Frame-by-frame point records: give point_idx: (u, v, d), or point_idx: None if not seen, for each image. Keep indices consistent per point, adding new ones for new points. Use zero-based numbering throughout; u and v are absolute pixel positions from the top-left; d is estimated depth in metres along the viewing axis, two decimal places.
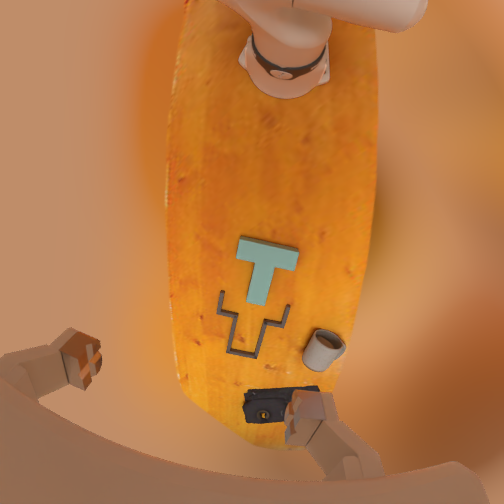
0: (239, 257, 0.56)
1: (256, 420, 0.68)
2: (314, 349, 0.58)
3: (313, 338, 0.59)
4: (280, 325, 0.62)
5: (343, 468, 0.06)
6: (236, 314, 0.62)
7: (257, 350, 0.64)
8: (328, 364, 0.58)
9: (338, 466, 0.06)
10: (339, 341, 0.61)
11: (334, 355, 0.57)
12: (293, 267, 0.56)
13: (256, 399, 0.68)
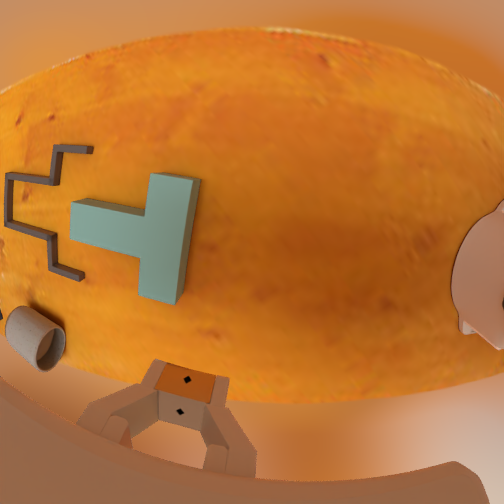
0: (152, 181, 0.23)
1: None
2: (28, 334, 0.26)
3: (43, 329, 0.27)
4: (50, 264, 0.28)
5: None
6: (55, 182, 0.25)
7: (13, 226, 0.27)
8: None
9: None
10: (55, 360, 0.31)
11: (31, 364, 0.26)
12: (144, 294, 0.26)
13: None
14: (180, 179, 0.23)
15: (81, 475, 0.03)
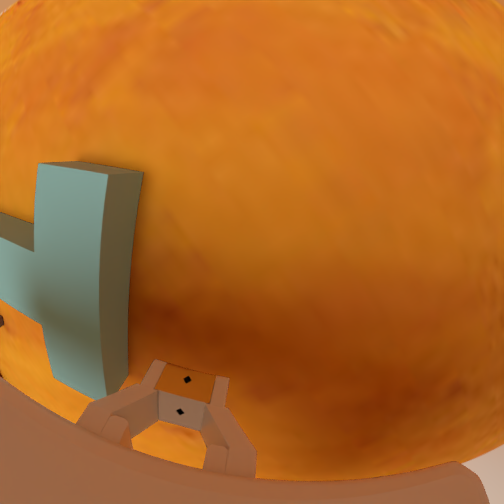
0: (41, 180, 0.09)
1: None
2: None
3: None
4: None
5: (205, 456, 0.06)
6: None
7: None
8: None
9: (206, 454, 0.06)
10: None
11: None
12: (61, 379, 0.12)
13: None
14: (84, 173, 0.09)
15: (81, 475, 0.03)
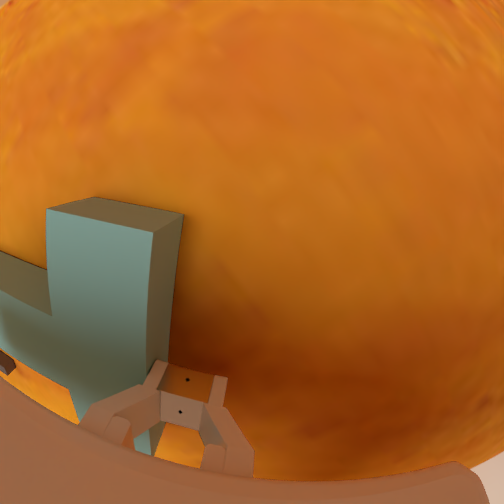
0: (52, 231, 0.07)
1: None
2: None
3: None
4: None
5: (203, 456, 0.06)
6: None
7: None
8: None
9: None
10: None
11: None
12: None
13: None
14: (117, 228, 0.07)
15: (81, 475, 0.03)
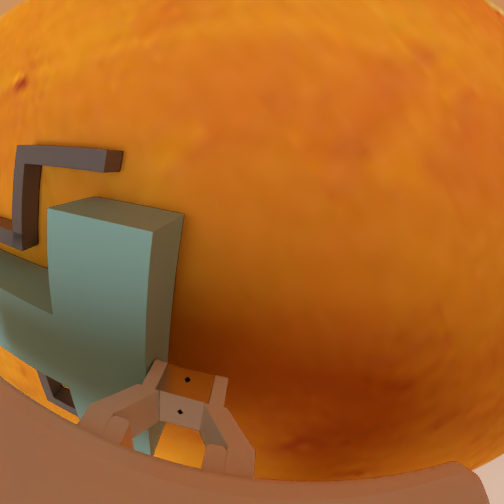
0: (53, 230, 0.07)
1: None
2: None
3: None
4: (50, 394, 0.12)
5: (204, 456, 0.06)
6: (27, 241, 0.10)
7: None
8: None
9: None
10: None
11: None
12: None
13: None
14: (117, 228, 0.07)
15: (81, 475, 0.03)
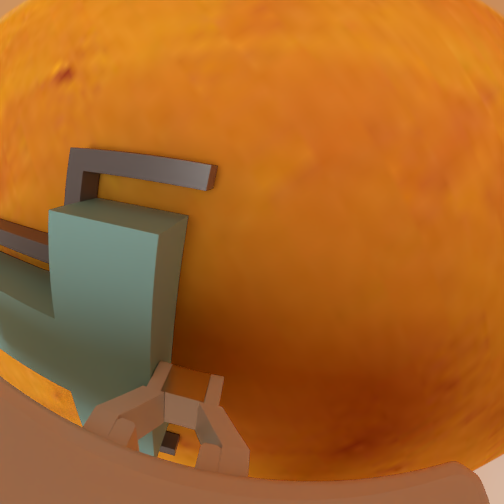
0: (55, 233, 0.07)
1: None
2: None
3: None
4: None
5: (198, 455, 0.06)
6: None
7: None
8: None
9: (199, 452, 0.06)
10: None
11: None
12: None
13: None
14: (121, 230, 0.07)
15: (81, 475, 0.03)
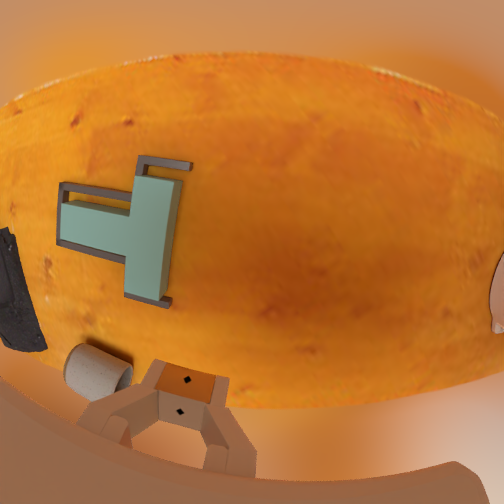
0: (136, 183, 0.24)
1: None
2: (100, 378, 0.27)
3: (117, 370, 0.29)
4: None
5: None
6: None
7: (71, 246, 0.28)
8: (82, 395, 0.27)
9: None
10: None
11: None
12: (130, 290, 0.27)
13: (2, 254, 0.28)
14: (162, 181, 0.24)
15: (81, 475, 0.03)
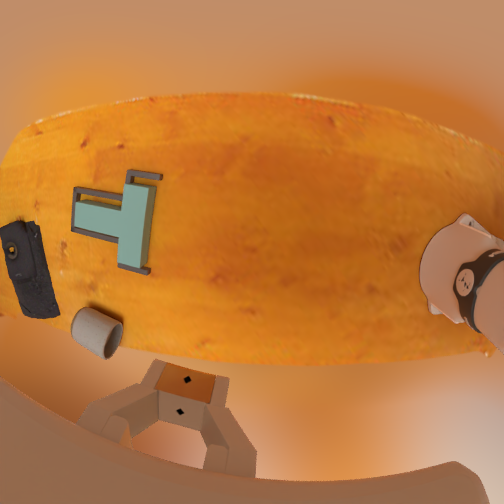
0: (125, 189, 0.36)
1: (3, 242, 0.39)
2: (97, 329, 0.40)
3: (110, 324, 0.41)
4: None
5: None
6: None
7: (82, 232, 0.40)
8: (83, 345, 0.40)
9: (206, 454, 0.06)
10: (112, 350, 0.45)
11: (96, 353, 0.40)
12: (121, 261, 0.39)
13: (29, 240, 0.41)
14: (141, 187, 0.36)
15: (81, 475, 0.03)
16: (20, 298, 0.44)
